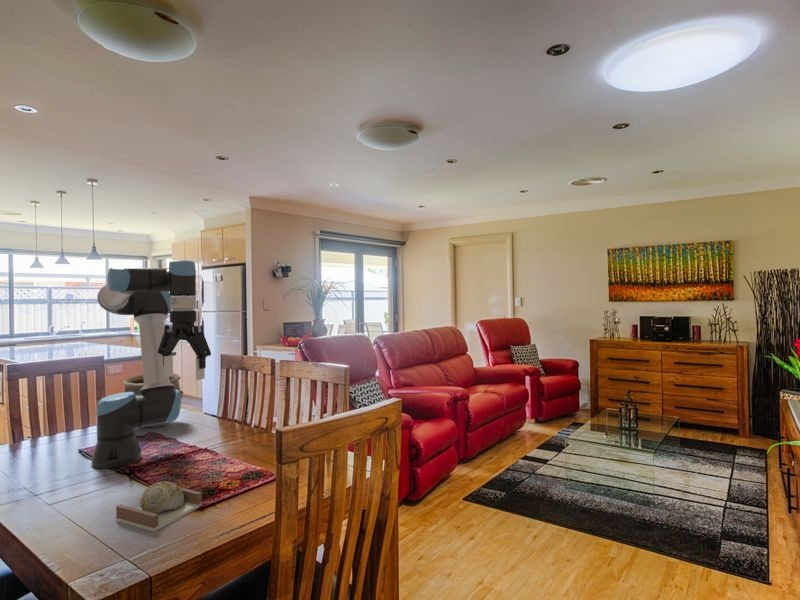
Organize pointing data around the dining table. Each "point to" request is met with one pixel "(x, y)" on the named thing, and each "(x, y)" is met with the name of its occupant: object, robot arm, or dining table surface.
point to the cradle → (161, 519)
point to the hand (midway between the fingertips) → (184, 377)
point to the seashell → (162, 497)
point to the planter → (138, 382)
